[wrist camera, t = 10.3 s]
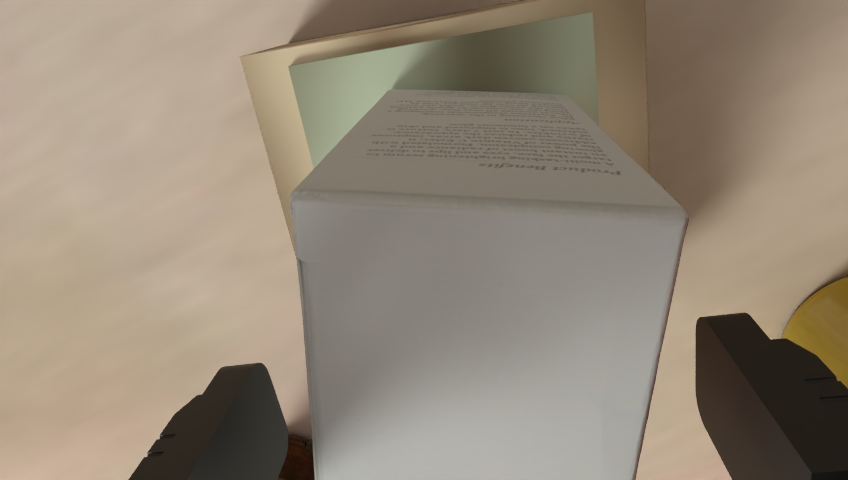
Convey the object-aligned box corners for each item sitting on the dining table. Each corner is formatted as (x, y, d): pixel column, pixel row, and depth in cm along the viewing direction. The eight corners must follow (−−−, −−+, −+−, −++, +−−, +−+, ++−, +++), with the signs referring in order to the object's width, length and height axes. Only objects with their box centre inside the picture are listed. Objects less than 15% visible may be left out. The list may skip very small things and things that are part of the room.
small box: (545, 322, 20) (614, 622, 11) (386, 314, 21) (313, 596, 11) (573, 88, 17) (708, 211, 7) (385, 83, 17) (281, 192, 8)
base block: (605, -15, 21) (647, -18, 16) (620, 281, 25) (656, 350, 20) (287, 43, 22) (236, 57, 17) (354, 312, 27) (328, 383, 22)
